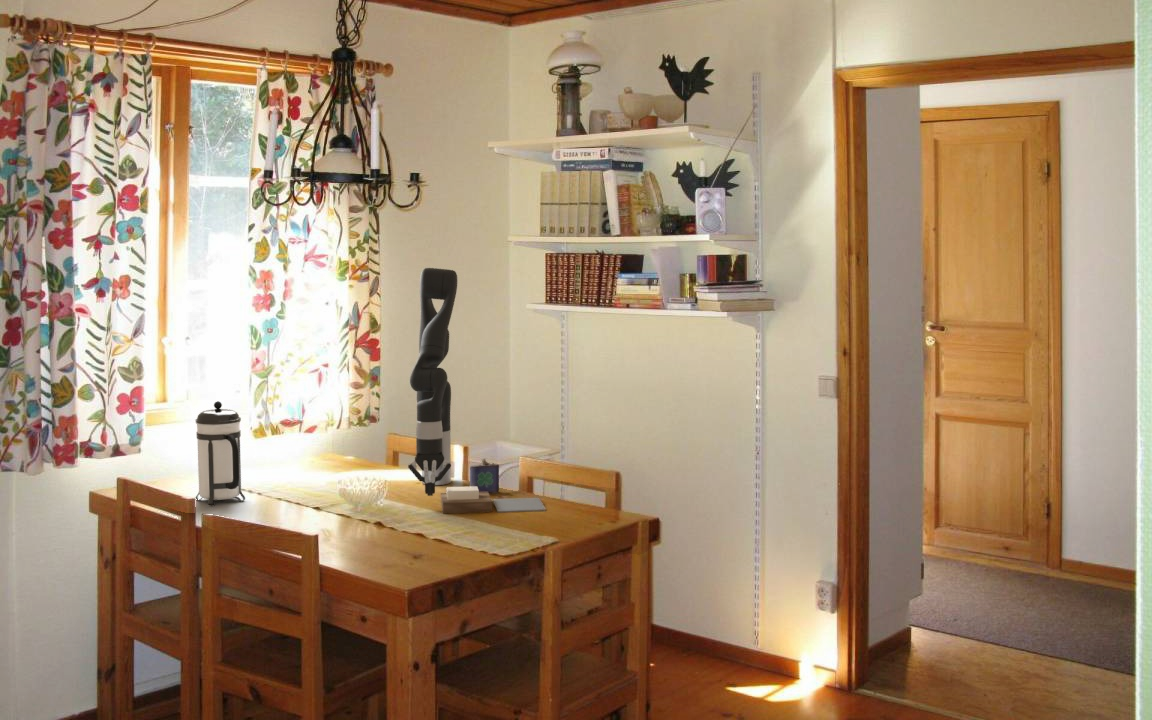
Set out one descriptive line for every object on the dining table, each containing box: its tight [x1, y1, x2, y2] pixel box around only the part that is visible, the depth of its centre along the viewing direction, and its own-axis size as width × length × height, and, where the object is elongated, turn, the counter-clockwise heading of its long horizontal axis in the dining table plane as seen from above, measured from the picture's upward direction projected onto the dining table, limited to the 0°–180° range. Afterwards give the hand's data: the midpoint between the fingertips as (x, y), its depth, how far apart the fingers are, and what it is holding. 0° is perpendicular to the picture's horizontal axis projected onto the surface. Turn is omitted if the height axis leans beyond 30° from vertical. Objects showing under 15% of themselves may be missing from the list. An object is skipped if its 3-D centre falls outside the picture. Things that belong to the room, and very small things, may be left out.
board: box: [440, 491, 493, 514], centre depth 322 cm, size 14×14×3 cm
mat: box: [492, 497, 547, 513], centre depth 324 cm, size 16×14×1 cm
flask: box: [469, 458, 500, 495], centre depth 341 cm, size 9×3×11 cm, turn 109°
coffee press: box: [194, 401, 246, 506], centre depth 327 cm, size 17×16×30 cm
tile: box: [445, 485, 479, 500], centre depth 321 cm, size 6×9×2 cm, turn 100°
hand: (429, 495), depth 319 cm, fingers closed
